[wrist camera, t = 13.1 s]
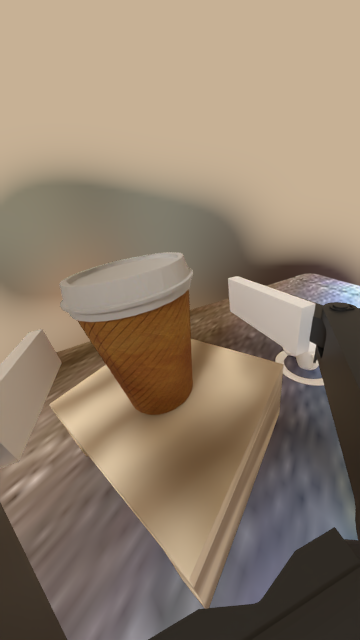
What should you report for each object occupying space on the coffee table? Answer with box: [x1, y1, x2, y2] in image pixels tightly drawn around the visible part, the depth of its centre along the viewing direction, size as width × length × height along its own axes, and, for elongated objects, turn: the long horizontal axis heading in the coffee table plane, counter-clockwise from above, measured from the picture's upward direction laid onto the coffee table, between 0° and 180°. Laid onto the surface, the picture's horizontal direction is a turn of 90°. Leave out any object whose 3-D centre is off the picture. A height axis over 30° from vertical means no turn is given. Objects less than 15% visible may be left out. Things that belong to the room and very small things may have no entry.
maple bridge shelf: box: [49, 339, 284, 609], centre depth 21 cm, size 18×16×8 cm
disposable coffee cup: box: [60, 252, 193, 415], centre depth 16 cm, size 10×10×12 cm
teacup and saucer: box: [275, 342, 324, 386], centre depth 28 cm, size 9×8×4 cm
